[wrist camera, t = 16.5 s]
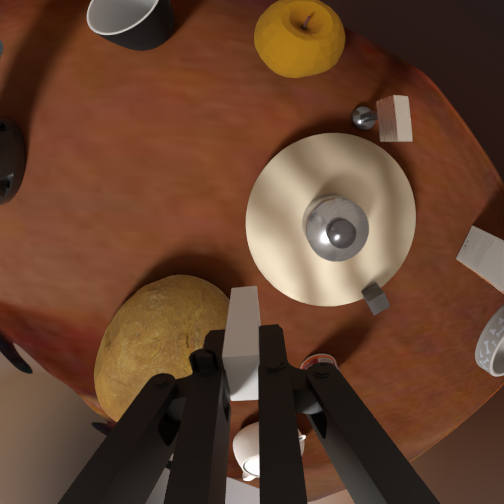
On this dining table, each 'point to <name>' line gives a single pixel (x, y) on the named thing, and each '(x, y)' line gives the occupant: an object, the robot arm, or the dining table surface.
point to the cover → (335, 227)
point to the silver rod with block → (386, 119)
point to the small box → (484, 256)
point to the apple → (299, 37)
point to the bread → (155, 337)
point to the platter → (330, 182)
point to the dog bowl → (492, 345)
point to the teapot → (252, 450)
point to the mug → (132, 22)
